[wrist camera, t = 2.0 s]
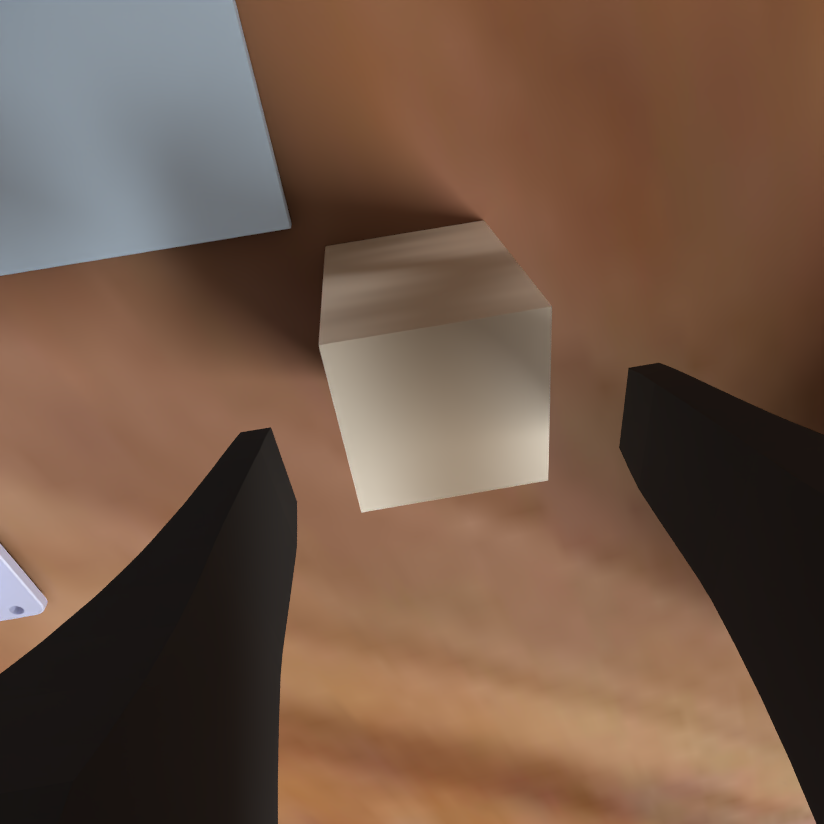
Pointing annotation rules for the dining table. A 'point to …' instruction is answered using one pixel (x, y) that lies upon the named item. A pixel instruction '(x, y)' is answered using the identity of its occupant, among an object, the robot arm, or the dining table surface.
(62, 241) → the base
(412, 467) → the birch block
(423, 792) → the dining table surface
